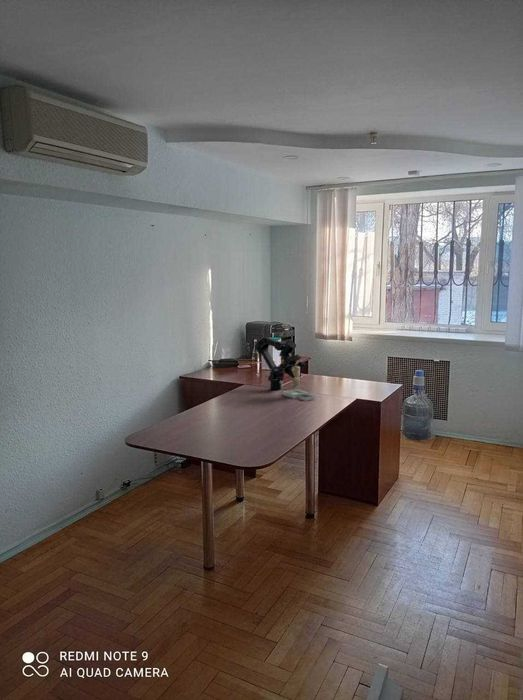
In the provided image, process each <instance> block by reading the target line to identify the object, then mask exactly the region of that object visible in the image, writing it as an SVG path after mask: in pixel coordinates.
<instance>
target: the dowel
mask: <svg viewBox="0 0 523 700" xmlns="http://www.w3.org/2000/svg"><path fill="white" fill-rule="evenodd" d="M291 371H292V373H293V375H294V378H292V377H291V388H293V389H298V388H300V385H301V384H300V383H301V381H300V378H301V377H300V367H299V366H293V367H292V368H291Z"/></svg>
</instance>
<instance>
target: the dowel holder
mask: <svg viewBox="0 0 523 700" xmlns="http://www.w3.org/2000/svg"><path fill="white" fill-rule="evenodd" d="M297 399H298V400H300V401H304V402H306V401H307V402H308V401H314V400H315V396H314V395H312V394H309V393H308V394H305V395H297V398H296V400H297Z"/></svg>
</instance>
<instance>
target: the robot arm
mask: <svg viewBox="0 0 523 700" xmlns="http://www.w3.org/2000/svg"><path fill="white" fill-rule="evenodd" d="M270 346H272V347H273V348H274V349H275V350H276V351H280V352H279V355H278V356H279V357H281V358H282V359H283V363H282V362H281V363H280V364H279V366H277V364H276V363H275V361H274V359H273V357H272V355H271V354H270V351H269V347H270ZM254 348H255V351H256V352H257V353H258V354H260V356H262V358H263V360H264V361H265V363H266V365H267V367H268V368H269V376H268V379H267V380H268V381H269V383H270V388H269V391H277V392H278V391H280V390H282V383H281V381H283V380H284V376H285V374H287V375H288V376H289V377H291V379H292V378H294V375H293V373H292V367H293V366H299V367H300V378H302V377H301V376H302V374H301V373H302V372H301V370H303V369H304V367H305V366H306V365H307V364H306V362H305V361H300V360H302V359H301V358H302V357H301V354H300V353H297V354H295V355H292V353H293V352H294V351H295V349H296V348H297V343H295V342H294V341H292V340H290V339H289V340H287V341H283V340H277V339H273V338H271V337H269V336H268V337H267V336H266V337H262V338H261V339H260V340H259V341H257V342H256V343H255V345H254ZM297 361H299V362H298V363H297Z"/></svg>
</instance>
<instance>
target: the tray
mask: <svg viewBox="0 0 523 700" xmlns="http://www.w3.org/2000/svg"><path fill="white" fill-rule="evenodd" d="M305 394H308V395H309V392H308V391H304V390H301V389H298V388H295V389H291V390H283V391H282V395H283V396H285V397H287V398H290V399H297V395H305Z"/></svg>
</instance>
